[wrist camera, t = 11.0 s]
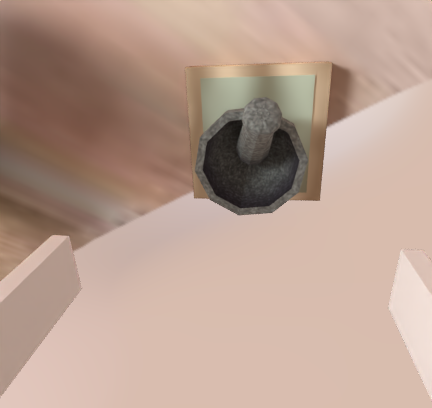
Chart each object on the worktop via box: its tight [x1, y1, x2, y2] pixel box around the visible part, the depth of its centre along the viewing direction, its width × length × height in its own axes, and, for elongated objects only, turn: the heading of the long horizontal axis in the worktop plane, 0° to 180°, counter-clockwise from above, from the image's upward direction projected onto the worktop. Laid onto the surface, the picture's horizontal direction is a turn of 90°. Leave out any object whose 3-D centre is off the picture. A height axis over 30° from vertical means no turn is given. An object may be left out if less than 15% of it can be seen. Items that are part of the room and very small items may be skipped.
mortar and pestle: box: [195, 97, 308, 215], centre depth 31 cm, size 11×9×12 cm
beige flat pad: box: [185, 62, 332, 201], centre depth 37 cm, size 14×14×3 cm
